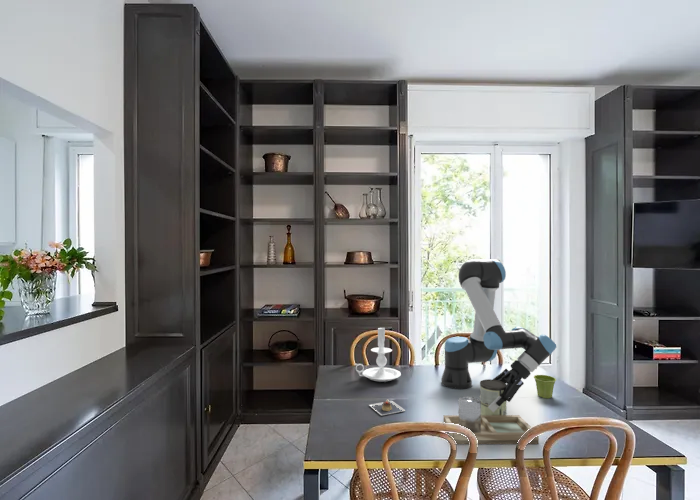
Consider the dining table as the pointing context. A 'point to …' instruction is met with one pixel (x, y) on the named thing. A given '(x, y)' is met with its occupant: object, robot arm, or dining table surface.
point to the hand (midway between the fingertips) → (485, 404)
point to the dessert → (387, 406)
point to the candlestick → (380, 363)
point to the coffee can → (491, 396)
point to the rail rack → (494, 429)
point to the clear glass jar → (470, 413)
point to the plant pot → (544, 385)
